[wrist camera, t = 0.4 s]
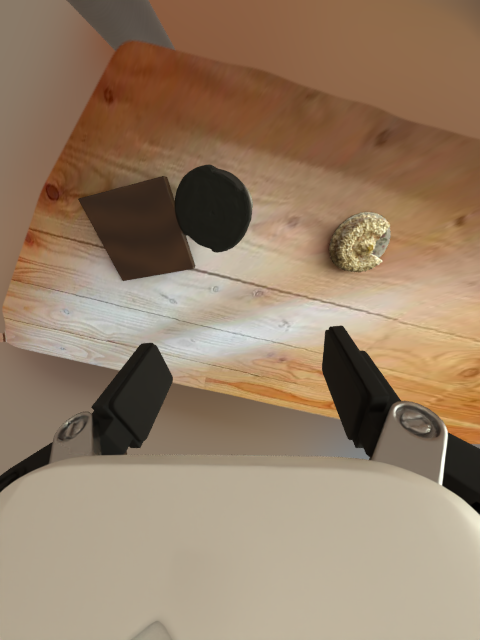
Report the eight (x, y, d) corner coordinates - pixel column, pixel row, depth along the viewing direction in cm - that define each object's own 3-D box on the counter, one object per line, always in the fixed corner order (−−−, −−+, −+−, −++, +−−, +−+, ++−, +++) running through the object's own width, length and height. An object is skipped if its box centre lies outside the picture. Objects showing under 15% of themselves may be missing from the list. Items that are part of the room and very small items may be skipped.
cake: (329, 274, 38) (336, 285, 34) (327, 221, 34) (334, 225, 29) (386, 263, 36) (402, 273, 31) (393, 203, 31) (412, 204, 26)
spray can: (225, 171, 30) (188, 139, 14) (261, 197, 32) (266, 197, 15) (207, 212, 34) (159, 228, 17) (240, 234, 35) (226, 268, 18)
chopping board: (84, 198, 34) (77, 198, 33) (167, 176, 31) (163, 176, 30) (126, 278, 42) (122, 281, 40) (195, 266, 39) (193, 268, 38)
